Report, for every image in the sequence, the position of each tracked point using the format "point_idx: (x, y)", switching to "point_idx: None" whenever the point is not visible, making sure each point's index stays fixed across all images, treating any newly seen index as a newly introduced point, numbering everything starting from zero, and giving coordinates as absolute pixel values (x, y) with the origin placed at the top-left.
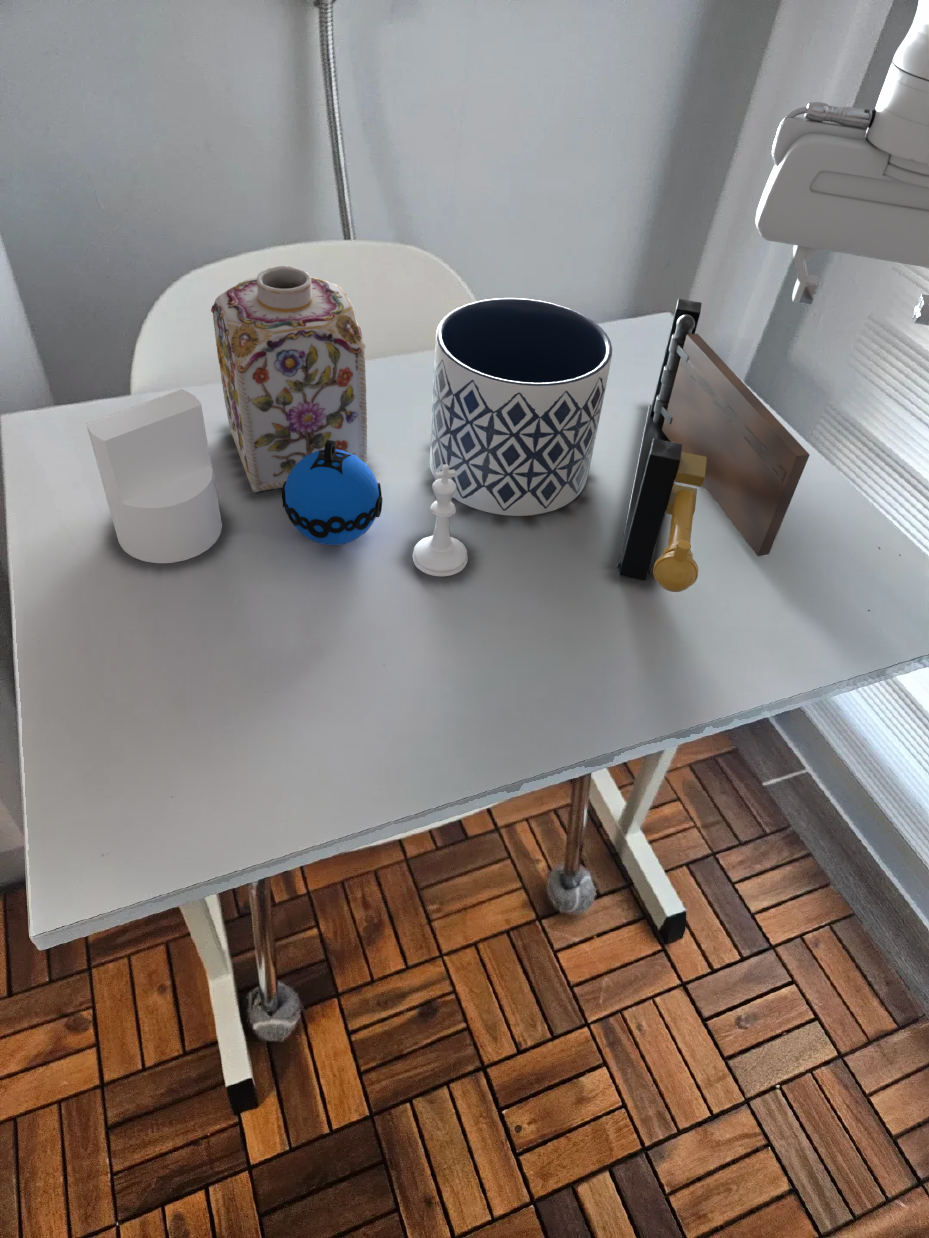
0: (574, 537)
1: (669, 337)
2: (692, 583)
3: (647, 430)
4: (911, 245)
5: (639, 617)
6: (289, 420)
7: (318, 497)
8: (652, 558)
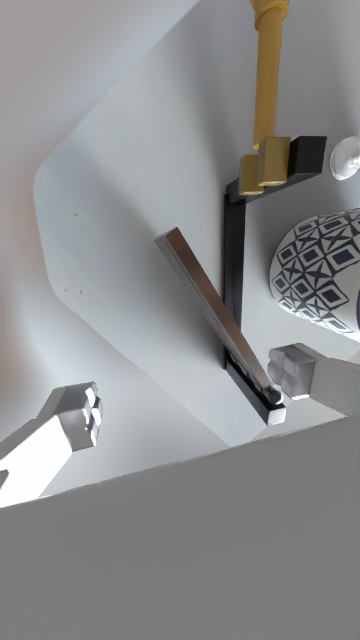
0: (270, 216)
1: None
2: None
3: None
4: (210, 551)
5: (226, 142)
6: None
7: None
8: (226, 207)
